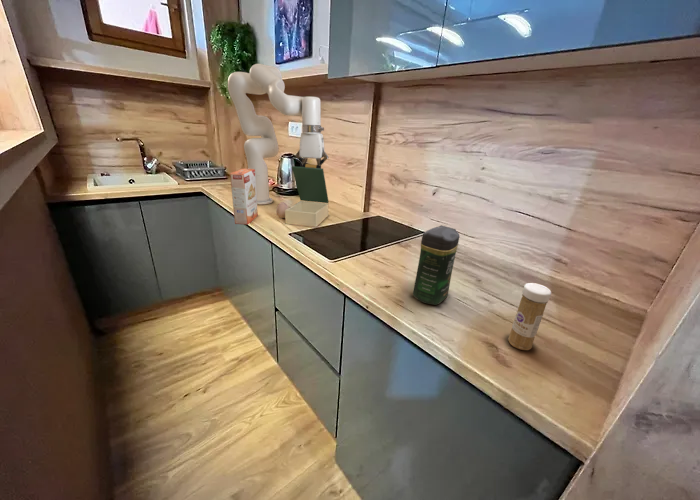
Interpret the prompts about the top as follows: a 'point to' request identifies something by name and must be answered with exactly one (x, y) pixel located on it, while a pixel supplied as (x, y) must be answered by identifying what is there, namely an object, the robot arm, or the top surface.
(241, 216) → the cracker box
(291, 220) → the book box
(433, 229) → the coffee jar
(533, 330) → the sprinkles bottle
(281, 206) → the egg
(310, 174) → the book cover
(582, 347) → the top surface
